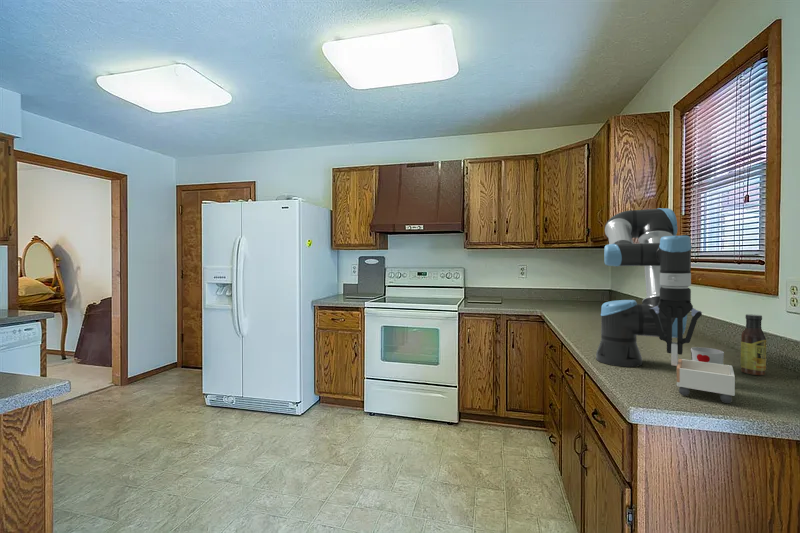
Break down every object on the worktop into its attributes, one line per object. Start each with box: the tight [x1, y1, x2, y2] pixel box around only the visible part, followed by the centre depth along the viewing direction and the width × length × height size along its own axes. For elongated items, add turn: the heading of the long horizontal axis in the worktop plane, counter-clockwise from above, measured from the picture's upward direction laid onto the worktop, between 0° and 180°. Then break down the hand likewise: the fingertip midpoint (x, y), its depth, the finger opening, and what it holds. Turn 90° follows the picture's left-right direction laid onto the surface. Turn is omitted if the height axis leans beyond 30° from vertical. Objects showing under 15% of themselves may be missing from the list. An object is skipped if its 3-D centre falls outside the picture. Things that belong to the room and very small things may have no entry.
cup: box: [690, 346, 725, 364], centre depth 117 cm, size 8×8×10 cm
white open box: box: [676, 358, 736, 404], centre depth 107 cm, size 12×12×8 cm
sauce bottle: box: [739, 313, 767, 376], centre depth 124 cm, size 6×6×20 cm
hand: (674, 364), depth 112 cm, fingers closed
